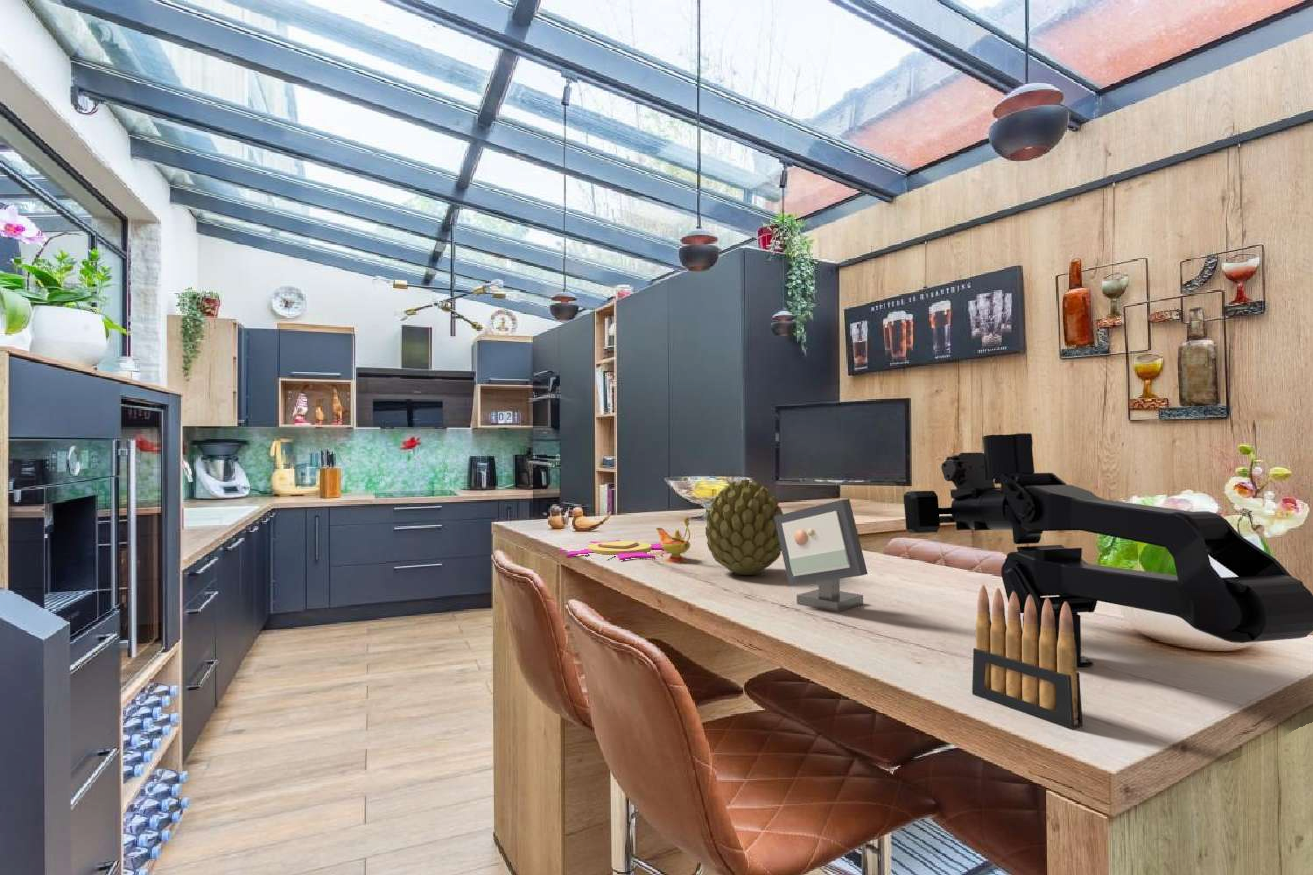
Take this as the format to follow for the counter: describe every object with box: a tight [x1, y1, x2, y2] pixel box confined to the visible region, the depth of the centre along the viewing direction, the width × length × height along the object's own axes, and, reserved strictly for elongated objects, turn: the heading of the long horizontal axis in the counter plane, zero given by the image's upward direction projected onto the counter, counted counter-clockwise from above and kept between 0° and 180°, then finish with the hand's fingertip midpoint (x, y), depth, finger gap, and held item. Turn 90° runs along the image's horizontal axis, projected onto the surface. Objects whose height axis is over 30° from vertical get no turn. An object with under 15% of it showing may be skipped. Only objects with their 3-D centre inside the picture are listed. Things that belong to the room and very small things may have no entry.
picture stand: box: [796, 579, 864, 613], centre depth 115 cm, size 8×8×14 cm
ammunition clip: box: [971, 584, 1084, 730], centre depth 69 cm, size 11×2×12 cm, turn 30°
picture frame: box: [774, 498, 868, 587], centre depth 110 cm, size 14×2×12 cm, turn 43°
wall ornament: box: [558, 539, 669, 560], centre depth 174 cm, size 30×2×30 cm
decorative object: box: [705, 479, 784, 576], centre depth 142 cm, size 17×17×20 cm
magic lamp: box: [655, 516, 691, 563], centre depth 160 cm, size 7×18×11 cm, turn 24°
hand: (931, 511), depth 109 cm, fingers open, 9 cm apart
